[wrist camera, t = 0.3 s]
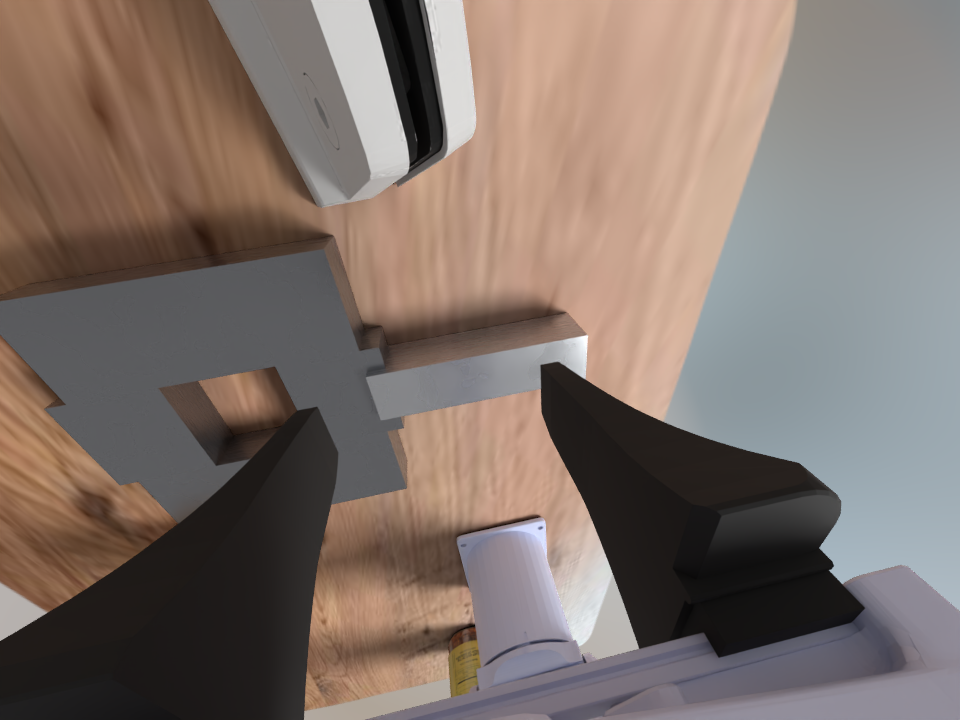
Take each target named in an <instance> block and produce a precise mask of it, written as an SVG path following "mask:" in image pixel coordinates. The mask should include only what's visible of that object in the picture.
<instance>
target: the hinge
mask: <svg viewBox="0 0 960 720" xmlns="http://www.w3.org/2000/svg"><path fill="white" fill-rule="evenodd" d="M208 1H209V3H210V5H211V7H212V9H213V11H214V12H215V14H216V16H217V18H218V20H219V22H220V24H221V26H222V28H223V29H224V31H225V33H226V35H227V37H228V39H229V41H230V43H231V44H232V46H233V48H234V50H235V52H236V54H237V56H238V58H239V60H240V61H241V63H242V65H243V67H244V69H245V71H246V73H247V75H248V77H249V78H250V80H251V82H252V84H253V86H254V88H255V90H256V92H257V93H258V95H259V97H260V99H261V101H262V103H263V105H264V107H265V109H266V110H267V112H268V114H269V116H270V118H271V120H272V122H273V124H274V125H275V127H276V129H277V131H278V133H279V135H280V137H281V139H282V141H283V142H284V144H285V146H286V148H287V150H288V152H289V154H290V156H291V157H292V159H293V161H294V163H295V165H296V167H297V169H298V171H299V173H300V174H301V176H302V178H303V180H304V182H305V184H306V186H307V188H308V189H309V191H310V193H311V195H312V197H313V199H314V201H315V203H316V205H317V206H318V207H321V208H323V207H328V206H333V205H338V204H344V203H349V202H354V201H360V200H365V199H371V198H373V197H375V196H376V195H377V194H379V193H380V192H382V191H383V190H385V189H386V188H387V187H389V186H390V185H392V184H393V183H395V182H396V184H397V186H398V187H399V186H401V185H403V184H404V183H406V182H407V181H409V180H411V179H412V178H414V177H415V176H417V175H419V174H420V173H422V172H423V171H425V170H427V169H428V168H430V167H431V166H433V165H435V164H436V163H438V162H439V161H441V160H443V159H444V158H446V157H447V156H448V155H450V154H451V153H452V152H454V151H455V150H456V149H458V148H459V147H460V146H462V145H463V144H464V143H466V142H467V141H468V140H470V139H471V138H472V136H473V134H474V131H475V126H476V109H475V100H474V90H473V81H472V71H471V62H470V54H469V47H468V39H467V32H466V25H465V17H464V10H463V2H462V0H208Z"/></svg>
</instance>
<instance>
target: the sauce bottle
mask: <svg viewBox="0 0 960 720" xmlns="http://www.w3.org/2000/svg"><path fill="white" fill-rule="evenodd" d="M448 650H449V657H448V661H449V675H450V689H451V697H455V696H459V695H463V694H467V693H469V691H470V688H471V687H473V686H475V685H478V679H477V671H476V670H477V669H478V668H481V664H480V657H479V649H478V642H477V634H476V627H470V628H467V629H463V630H460V631H459V632H457V633H455V634H454V636H453V637H452V638H451V640H450V642H449V647H448Z"/></svg>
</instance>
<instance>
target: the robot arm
mask: <svg viewBox="0 0 960 720" xmlns="http://www.w3.org/2000/svg"><path fill="white" fill-rule="evenodd" d="M540 371H541V407H542V415H543V418H544V421H545V423H546V426H547V429H548V431H549V434H550V437H551V439H552V441H553V443H554V445H555V447H556V449H557V451H558V452H559V454H560V456H561V458H562V460H563V462H564V464H565V466H566V468H567V470H568V471H569V473H570V475H571V477H572V479H573V481H574V483H575V485H576V486H577V488H578V490H579V492H580V494H581V496H582V498H583V500H584V502H585V505H586V507H587V509H588V511H589V514H590V516H591V519H592V521H593V524H594V526H595V529H596V531H597V534H598V536H599V539H600V541H601V544H602V546H603V549H604V552H605V554H606V557H607V559H608V562H609V565H610V567H611V570H612V573H613V575H614V578H615V581H616V584H617V586H618V589H619V592H620V594H621V597H622V600H623V603H624V605H625V608H626V611H627V614H628V617H629V620H630V623H631V626H632V629H633V632H634V634H635V637H636V640H637V643H638V646H639V649H638V650H634V651H630V652H626V653H622V654H618V655H614V656H610V657H606V658H603V659H599V660H598V659H596V658H595V657H593V656H592V654H591V653H588V652H587V653H584V654H582V656H581V653H580V650H579V647H578V644H577V641H576V640H574V641H573V638H572V635H571V632H570V629H569V626H568V623H567V619H566V616H565V613H564V610H563V607H562V604H561V601H560V598H559V595H558V592H557V589H556V586H555V583H554V580H553V576H552V573H551V570H550V567H549V564H548V561H547V550H546V523H545V520H544V518H535V519H531V520H526V521H522V522H518V523H513V524H509V525H504V526H500V527H496V528H491V529H487V530H482V531H478V532H473V533H469V534H465V535H461V536H459V537H458V538H457V545H458V549H459V553H460V556H461V560H462V564H463V568H464V571H465V575H466V579H467V583H468V586H469V590H470V592H471V597H472V605H473V612H474V620H475V627H476V634H477V642H478V649H479V657H480V664H481V668H478V669H477V670H476V671H477V679H478V685H475V686H473V687H471V688H470V691H469V693H467V694H463V695H459V696H455V697H451V698H447V699H444V700H440V701H436V702H432V703H428V704H424V705H420V706H416V707H412V708H409V709H405V710H401V711H397V712H393V713H390V714H385V715H381V716H378V717H374V718H370V719H366V720H960V611H959V610H958V609H956V608H955V607H954V606H953V605H952V604H950V602H948V601H947V600H946V599H945V598H944V597H943V596H941V595H940V594H939V593H938V592H937V591H936V590H934V589H933V588H932V587H931V586H929V584H927V583H926V582H925V581H924V580H923V579H921V578H920V577H919V576H918V575H917V574H916V573H915V572H913V571H912V570H911V569H910V568H909V567H907V566H902V565H899V566H895V567H891V568H887V569H883V570H879V571H875V572H871V573H867V574H863V575H860V576H857V577H854V578H852V579H850V580H848V581H847V582H845V583H844V584H841V583H840V581H839V580H837V578H836V577H835V576H834V575H833V574H832V573H831V572H830V571H829V570H831V569H832V568H833V567H834V565H833V562H832V561H831V560H830V559H829V558H828V557H827V556H826V555H825V554H824V553H823V552H822V551H821V550H820V549H819V547H820V546H821V544H822V543H823V541H824V540H825V538H826V537H827V535H828V534H829V533H830V531H831V529H832V528H833V527H834V525H835V523H836V522H837V520H838V518H839V516H840V513H841V500H840V499H839V497H838V495H837V494H836V493H834V492H833V491H832V490H831V489H830V488H829V487H827V486H826V485H825V484H824V483H822V482H821V481H820V480H819V479H818V478H817V477H815V476H814V475H813V474H812V473H811V472H809V471H808V470H807V469H806V468H804V467H803V466H802V465H801V464H799V463H796V462H792V461H787V460H784V459H779V458H775V457H771V456H767V455H763V454H759V453H754V452H750V451H746V450H743V449H739V448H736V447H733V446H729V445H726V444H723V443H719V442H716V441H713V440H709V439H707V438H704V437H701V436H698V435H695V434H693V433H690V432H687V431H684V430H682V429H679V428H676V427H674V426H672V425H669V424H667V423H664V422H662V421H660V420H658V419H656V418H653V417H651V416H649V415H647V414H645V413H642V412H640V411H638V410H636V409H634V408H632V407H631V406H629V405H627V404H625V403H623V402H621V401H620V400H618V399H616V398H614V397H613V396H611V395H609V394H607V393H606V392H604V391H603V390H601V389H599V388H598V387H596V386H595V385H593V384H591V383H590V382H588V381H587V380H585V379H584V378H582V377H581V376H579V375H578V374H576V373H575V372H573V371H572V370H570V369H569V368H568V367H566V366H565V365H563V364H561V363H560V362H553V363H547V364H542V365H540ZM337 468H338V451H337V448H336V446H335V444H334V442H333V439H332V437H331V435H330V433H329V431H328V428H327V426H326V424H325V422H324V420H323V417H322V415H321V413H320V411H319V409H318V407H313V408H307V409H302V410H298V411H297V412H296V413H294V414H293V415H292V416H291V417H290V418H289V419H288V420H287V421H286V422H285V424H284V425H283V426H282V427H281V428H280V429H279V430H278V431H277V432H276V433H275V434H274V435H273V436H272V437H271V438H270V439H269V440H268V441H267V443H266V444H265V445H264V446H263V447H262V448H261V449H260V450H259V451H258V452H257V453H256V454H255V455H254V456H253V457H252V458H251V459H250V460H249V461H248V462H247V463H246V464H245V465H244V466H243V467H242V468H241V469H240V470H239V471H238V472H237V473H236V474H235V475H234V476H233V477H232V478H231V479H230V480H228V481H227V482H226V483H225V484H224V485H223V486H222V487H221V488H220V489H219V490H218V491H217V492H216V493H215V494H213V495H212V496H211V497H210V498H209V499H208V500H207V501H205V502H204V503H203V504H202V505H201V506H199V507H198V508H197V509H196V510H195V511H193V512H192V513H191V514H190V515H189V516H187V517H186V518H185V519H184V520H183V521H181V522H180V523H179V524H177V525H176V526H175V527H173V528H172V529H171V530H169V531H168V532H167V533H165V534H164V535H163V536H161V537H160V538H159V539H157V540H156V541H155V542H153V543H152V544H151V545H149V546H148V547H147V548H145V549H144V550H143V551H141V552H140V553H139V554H137V555H136V556H135V557H133V558H132V559H130V560H129V561H127V562H126V563H124V564H123V565H121V566H120V567H119V568H117V569H116V570H114V571H113V572H111V573H110V574H108V575H107V576H105V577H104V578H102V579H101V580H99V581H98V582H96V583H95V584H93V585H92V586H90V587H89V588H87V589H85V590H84V591H82V592H81V593H79V594H78V595H76V596H74V597H73V598H71V599H70V600H68V601H66V602H65V603H63V604H61V605H60V606H58V607H57V608H55V609H53V610H52V611H50V612H48V613H47V614H45V615H43V616H42V617H40V618H38V619H37V620H35V621H33V622H32V623H30V624H28V625H27V626H25V627H23V628H22V629H20V630H19V631H17V632H15V633H13V634H12V635H10V636H8V637H6V638H5V639H3V640H1V641H0V720H304V707H305V686H306V672H307V659H308V645H309V634H310V624H311V614H312V604H313V596H314V588H315V580H316V572H317V565H318V560H319V555H320V550H321V545H322V541H323V537H324V533H325V528H326V524H327V520H328V516H329V511H330V507H331V503H332V498H333V494H334V489H335V485H336V478H337ZM582 658H583V659H582Z"/></svg>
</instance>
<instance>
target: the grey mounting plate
mask: <svg viewBox="0 0 960 720" xmlns="http://www.w3.org/2000/svg"><path fill="white" fill-rule="evenodd" d="M0 335H1V336H2V337H3V338H4V339H5V340H6V341H7V342H8V344H9V345H10V346H11V347H12V348H13V349H14V350H15V351H16V352H17V353H18V354H19V355H20V356H21V357H22V358H23V359H24V361H25V362H26V363H27V364H28V365H29V366H30V367H31V368H32V369H33V370H34V371H35V372H36V373H37V374H38V375H39V376H40V377H41V379H42V380H43V381H44V382H45V383H46V384H47V385H48V386H49V387H50V388H51V389H52V390H53V391H54V392H55V393H56V394H57V396H58V397H59V398H58V399H57V400H56V401H54V402H53V403H51V404H50V405H49V406H47V407H46V408H45V410H46V411H47V412H48V413H49V414H50V415H51V416H52V417H53V418H54V420H55V421H56V422H57V423H58V424H59V425H60V426H61V427H62V428H63V429H64V430H65V431H66V432H67V433H68V434H69V435H70V436H71V437H72V438H73V439H74V440H75V441H76V442H77V443H78V444H79V445H80V446H81V447H82V448H83V449H84V450H85V451H86V452H87V453H88V454H89V455H90V456H91V457H92V458H93V459H94V460H95V461H96V462H97V463H98V464H99V465H100V466H101V467H102V468H103V469H104V470H105V471H106V472H107V473H108V474H109V475H110V476H111V477H112V478H113V479H114V480H115V481H116V482H117V483H118V484H119V485H124V484H129V483H134V482H140V484H141V485H142V486H143V487H144V488H145V489H146V490H147V491H148V492H149V493H150V494H151V495H152V496H153V497H154V498H155V499H156V500H157V502H158V503H159V504H160V505H161V506H162V507H163V508H164V509H165V510H166V511H167V512H168V513H169V514H170V515H171V516H172V517H173V518H174V520H175V521H176V522H177V523H178V524H179V523H180V522H181V521H183V520H184V519H185V518H186V517H187V516H189V515H190V514H191V513H192V512H193V511H195V510H196V509H197V508H198V507H199V506H201V505H202V504H203V503H204V502H205V501H207V500H208V499H209V498H210V497H211V496H212V495H213V494H215V493H216V492H217V491H218V490H219V489H220V488H221V487H222V486H223V485H224V484H225V483H226V482H227V481H228V480H230V479H231V478H232V477H233V476H234V475H235V474H236V473H237V472H238V471H239V470H240V469H241V468H242V467H243V466H244V465H245V464H246V463H247V462H248V461H249V460H250V459H251V458H252V457H253V456H254V455H255V454H256V453H257V452H258V451H259V450H260V449H261V448H262V447H263V446H264V445H265V444H266V443H267V441H268V440H269V439H270V438H271V437H272V436H273V435H274V434H275V433H276V432H277V431H278V430H279V429H280V428H281V427H282V426H281V427H276V428H271V429H266V430H261V431H255V432H250V433H245V434H240V435H235V436H233V434H232V433H231V431H230V429H229V428H228V426H227V425H226V423H225V422H224V420H223V419H222V417H221V416H220V414H219V413H218V411H217V410H216V408H215V407H214V405H213V404H212V402H211V401H210V399H209V398H208V396H207V395H206V393H205V392H204V390H203V389H202V387H201V386H200V384H199V383H198V381H199V380H205V379H210V378H216V377H221V376H227V375H232V374H237V373H243V372H248V371H254V370H259V369H265V368H270V367H275V368H276V369H277V371H278V373H279V375H280V377H281V379H282V381H283V383H284V385H285V387H286V389H287V391H288V393H289V395H290V397H291V399H292V401H293V403H294V405H295V407H296V409H297V411H298V410H302V409H307V408H313V407H318V409H319V411H320V413H321V415H322V417H323V420H324V422H325V424H326V426H327V428H328V431H329V433H330V435H331V437H332V439H333V442H334V444H335V446H336V448H337V451H338V468H337V478H336V485H335V489H334V494H333V498H332V503H331V505H332V504H336V503H341V502H346V501H350V500H355V499H360V498H364V497H369V496H374V495H378V494H383V493H388V492H392V491H397V490H402V489H406V488H407V458H406V455H405V452H404V449H403V446H402V443H401V440H400V437H399V434H398V431H397V429H402V428H404V416H406V415H412V414H417V413H422V412H427V411H432V410H437V409H442V408H447V407H452V406H457V405H462V404H467V403H472V402H477V401H482V400H487V399H492V398H497V397H502V396H507V395H512V394H517V393H522V392H527V391H532V390H537V389H541V371H540V365H542V364H547V363H553V362H560V363H561V364H563V365H565V366H566V367H568V368H569V369H570V370H572V371H573V372H575V373H576V374H578V375H579V376H581V377H582V378H584V379H585V380H586V360H587V339H588V335H587V334H586V333H585V332H584V331H583V329H582V328H581V327H580V326H579V325H578V324H577V323H576V322H575V321H574V319H573V318H572V317H571V316H570V315H569V314H568V313H563V314H558V315H552V316H547V317H541V318H536V319H531V320H525V321H520V322H514V323H509V324H503V325H498V326H492V327H487V328H482V329H476V330H471V331H465V332H460V333H454V334H449V335H443V336H438V337H433V338H427V339H422V340H416V341H411V342H405V343H400V344H394V345H389V346H388V345H387V341H386V338H385V335H384V331H383V328H382V326H380V327H374V328H369V329H364V327H363V323H362V320H361V317H360V314H359V311H358V308H357V305H356V302H355V299H354V296H353V293H352V290H351V287H350V284H349V281H348V278H347V274H346V271H345V268H344V265H343V262H342V259H341V256H340V253H339V250H338V247H337V244H336V241H335V238H334V236H330V237H324V238H318V239H311V240H305V241H299V242H292V243H286V244H280V245H274V246H267V247H261V248H255V249H248V250H242V251H236V252H229V253H223V254H217V255H211V256H204V257H198V258H192V259H185V260H179V261H173V262H167V263H160V264H154V265H148V266H141V267H135V268H129V269H122V270H116V271H110V272H104V273H97V274H91V275H85V276H78V277H72V278H66V279H59V280H53V281H47V282H41V283H34V284H28V285H25V286H23V287H20V288H17V289H15V290H12V291H10V292H7V293H4V294H2V295H0Z"/></svg>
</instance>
